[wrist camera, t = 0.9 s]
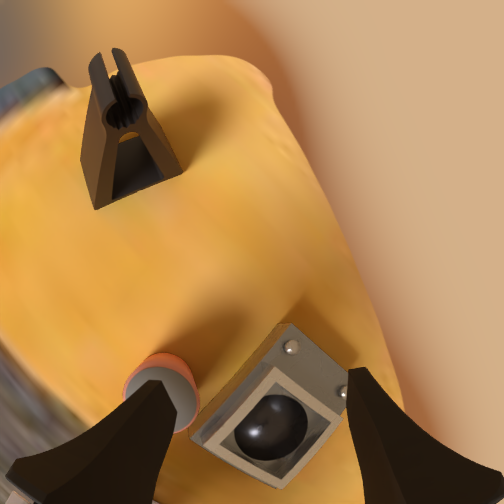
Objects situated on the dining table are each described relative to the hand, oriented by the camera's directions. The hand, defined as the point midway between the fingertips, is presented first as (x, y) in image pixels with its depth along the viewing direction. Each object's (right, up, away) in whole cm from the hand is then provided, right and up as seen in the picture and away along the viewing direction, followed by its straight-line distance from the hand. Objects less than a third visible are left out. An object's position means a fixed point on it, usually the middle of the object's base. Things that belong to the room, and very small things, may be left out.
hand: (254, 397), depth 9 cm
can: (-7, -5, +11) cm, 14 cm away
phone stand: (-12, +14, +15) cm, 23 cm away
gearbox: (+2, -8, +12) cm, 15 cm away
